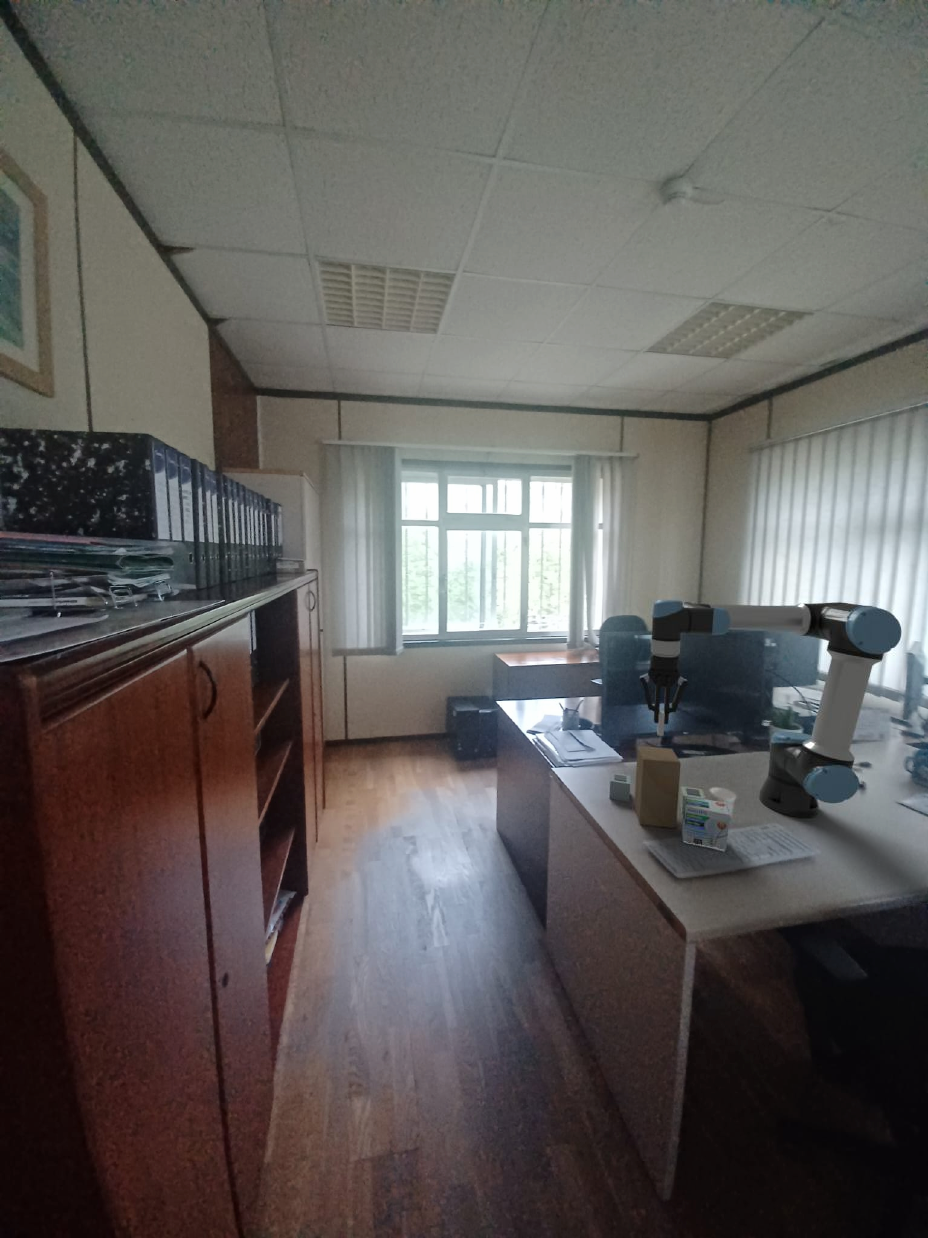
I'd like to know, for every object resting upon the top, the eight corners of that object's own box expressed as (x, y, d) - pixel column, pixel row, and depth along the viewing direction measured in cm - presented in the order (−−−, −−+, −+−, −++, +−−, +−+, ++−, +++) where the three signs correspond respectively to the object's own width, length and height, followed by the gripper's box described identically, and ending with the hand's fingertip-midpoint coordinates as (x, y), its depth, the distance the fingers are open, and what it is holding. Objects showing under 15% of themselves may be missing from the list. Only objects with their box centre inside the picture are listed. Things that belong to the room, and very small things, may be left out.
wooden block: (676, 829, 131) (681, 762, 128) (639, 825, 133) (643, 759, 130) (668, 810, 141) (672, 748, 138) (633, 806, 143) (637, 745, 140)
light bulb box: (682, 844, 124) (685, 806, 123) (681, 830, 131) (683, 794, 129) (727, 853, 120) (730, 815, 119) (723, 839, 127) (727, 802, 125)
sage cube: (700, 807, 143) (702, 788, 142) (704, 817, 137) (705, 798, 136) (679, 804, 145) (681, 785, 144) (681, 814, 139) (683, 794, 138)
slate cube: (629, 793, 151) (630, 775, 151) (629, 802, 146) (630, 783, 145) (609, 789, 153) (610, 772, 152) (609, 798, 148) (610, 780, 147)
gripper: (688, 653, 132) (683, 732, 135) (640, 650, 136) (636, 726, 139) (692, 658, 125) (686, 741, 128) (640, 655, 129) (636, 735, 132)
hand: (660, 734), depth 133 cm, fingers closed
